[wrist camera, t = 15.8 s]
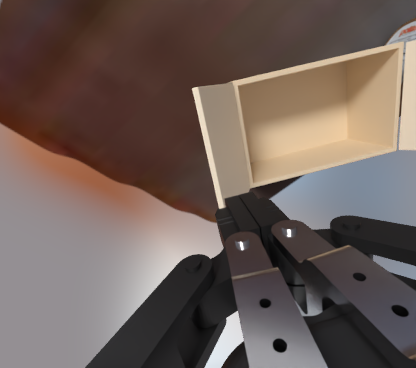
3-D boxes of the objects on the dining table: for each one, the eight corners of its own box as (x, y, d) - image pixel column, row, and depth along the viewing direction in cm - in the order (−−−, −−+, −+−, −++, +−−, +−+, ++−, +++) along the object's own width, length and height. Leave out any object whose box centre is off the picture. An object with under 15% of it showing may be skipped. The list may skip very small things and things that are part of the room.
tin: (362, 122, 42) (405, 126, 34) (348, 118, 41) (388, 121, 33) (403, 30, 38) (464, 11, 30) (388, 24, 37) (445, 2, 29)
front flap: (197, 86, 18) (192, 88, 18) (229, 233, 23) (224, 233, 23) (232, 82, 27) (228, 83, 27) (250, 187, 32) (246, 188, 32)
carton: (347, 57, 38) (403, 41, 28) (348, 140, 43) (396, 150, 33) (217, 87, 37) (231, 81, 27) (233, 169, 42) (249, 188, 32)
